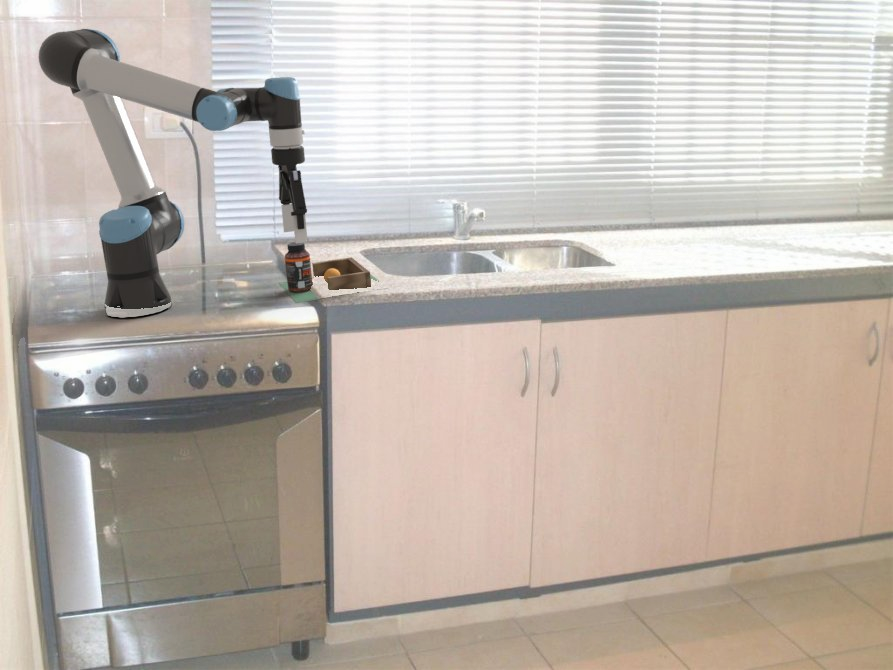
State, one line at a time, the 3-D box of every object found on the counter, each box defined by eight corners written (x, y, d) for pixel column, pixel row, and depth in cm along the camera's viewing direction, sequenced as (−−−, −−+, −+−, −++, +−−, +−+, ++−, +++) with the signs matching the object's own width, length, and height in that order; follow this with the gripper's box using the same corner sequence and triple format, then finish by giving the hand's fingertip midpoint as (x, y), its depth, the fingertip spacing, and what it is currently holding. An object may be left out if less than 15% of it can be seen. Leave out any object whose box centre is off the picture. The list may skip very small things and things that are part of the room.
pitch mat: (296, 304, 256) (296, 302, 255) (279, 284, 275) (279, 282, 275) (388, 289, 262) (388, 287, 262) (365, 271, 281) (365, 269, 281)
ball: (343, 271, 267) (338, 287, 267) (342, 271, 271) (336, 286, 271) (327, 266, 266) (322, 282, 266) (326, 265, 270) (321, 281, 270)
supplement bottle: (308, 293, 263) (303, 246, 260) (284, 293, 264) (279, 246, 261) (316, 286, 269) (311, 240, 265) (293, 286, 270) (287, 240, 267)
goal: (330, 294, 260) (328, 278, 259) (313, 278, 276) (312, 263, 275) (371, 288, 263) (369, 272, 262) (353, 272, 279) (351, 257, 278)
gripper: (315, 151, 246) (322, 245, 253) (292, 138, 269) (300, 225, 275) (281, 154, 244) (290, 249, 250) (261, 141, 267) (270, 228, 273)
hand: (295, 237), depth 263 cm, fingers open, 13 cm apart
